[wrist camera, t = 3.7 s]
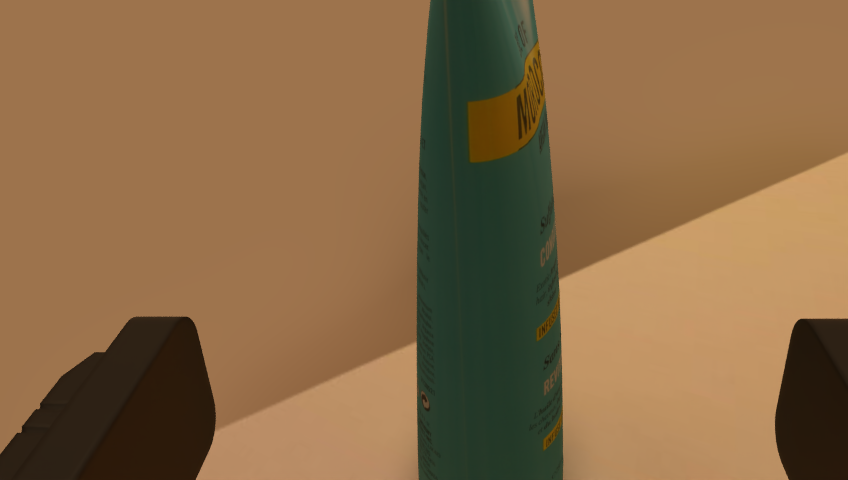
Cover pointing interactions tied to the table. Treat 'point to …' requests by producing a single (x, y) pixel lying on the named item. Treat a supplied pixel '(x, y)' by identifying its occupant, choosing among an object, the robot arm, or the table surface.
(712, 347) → the table surface
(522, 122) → the tube
